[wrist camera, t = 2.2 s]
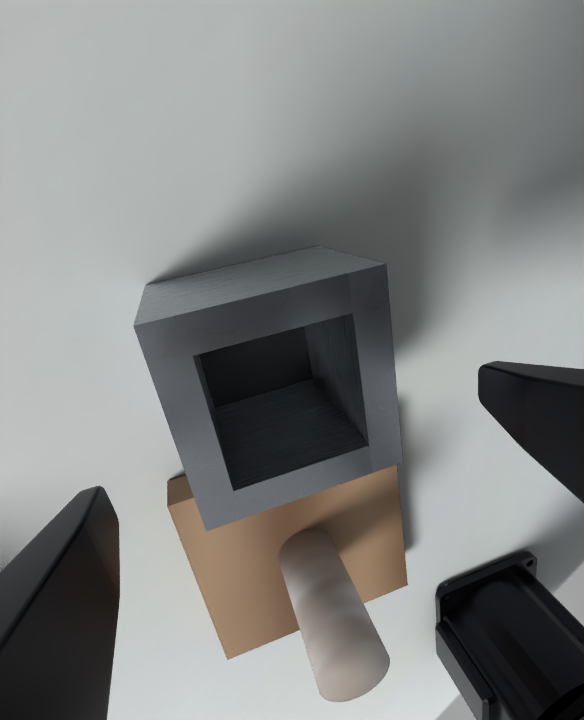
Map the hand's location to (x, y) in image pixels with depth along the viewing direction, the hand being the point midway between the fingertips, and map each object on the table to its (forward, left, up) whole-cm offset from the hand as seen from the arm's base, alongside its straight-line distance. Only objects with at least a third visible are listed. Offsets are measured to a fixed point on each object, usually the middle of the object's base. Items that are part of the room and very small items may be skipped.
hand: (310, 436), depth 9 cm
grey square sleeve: (0, 0, -6) cm, 6 cm away
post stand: (0, +9, -6) cm, 11 cm away
